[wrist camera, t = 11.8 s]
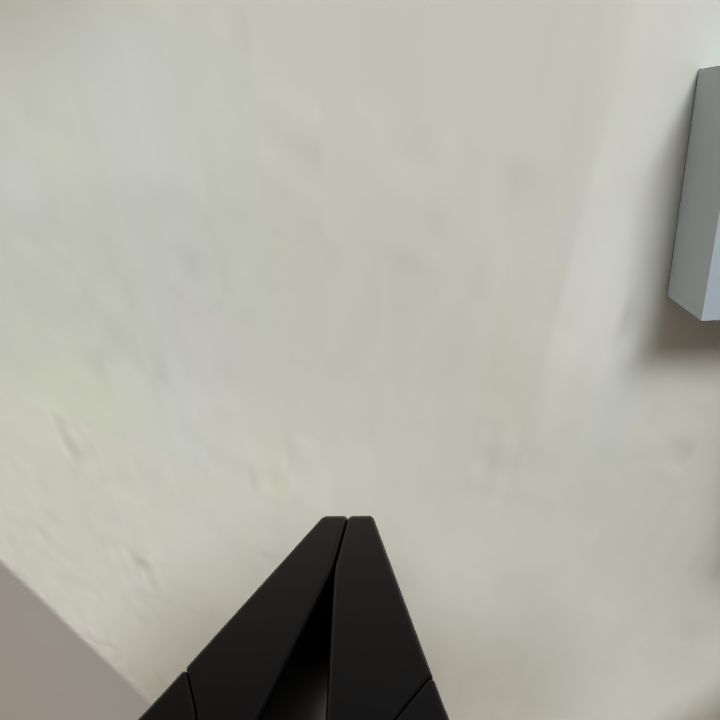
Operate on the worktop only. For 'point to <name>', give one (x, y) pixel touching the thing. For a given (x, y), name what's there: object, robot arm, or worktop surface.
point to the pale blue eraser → (700, 208)
